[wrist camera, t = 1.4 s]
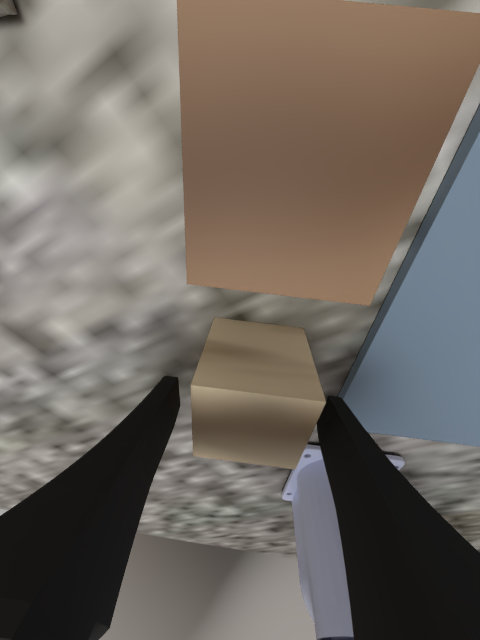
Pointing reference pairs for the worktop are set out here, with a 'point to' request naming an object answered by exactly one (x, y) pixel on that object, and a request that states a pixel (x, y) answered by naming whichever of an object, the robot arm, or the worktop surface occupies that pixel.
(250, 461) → the maple block
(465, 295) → the board
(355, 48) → the walnut block
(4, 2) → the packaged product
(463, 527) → the worktop surface
